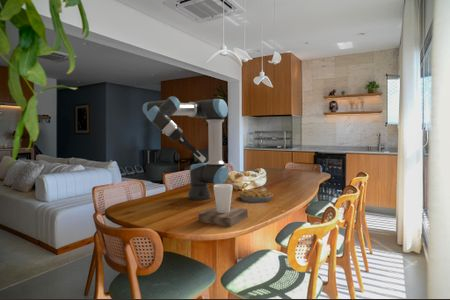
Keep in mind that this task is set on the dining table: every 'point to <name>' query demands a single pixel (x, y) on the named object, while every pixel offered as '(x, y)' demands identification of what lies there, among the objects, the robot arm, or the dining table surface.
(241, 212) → the walnut riser
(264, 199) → the pie
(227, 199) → the foam cup
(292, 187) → the dining table surface
